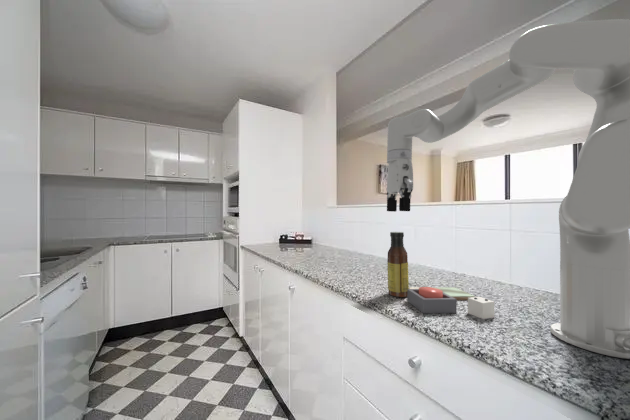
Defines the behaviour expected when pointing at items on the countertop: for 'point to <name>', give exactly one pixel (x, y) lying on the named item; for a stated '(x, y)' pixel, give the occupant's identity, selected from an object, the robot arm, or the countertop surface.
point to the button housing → (432, 303)
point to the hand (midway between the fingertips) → (397, 211)
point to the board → (452, 292)
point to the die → (481, 307)
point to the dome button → (430, 292)
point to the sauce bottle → (397, 266)
